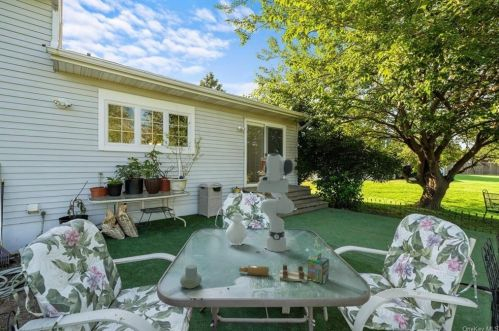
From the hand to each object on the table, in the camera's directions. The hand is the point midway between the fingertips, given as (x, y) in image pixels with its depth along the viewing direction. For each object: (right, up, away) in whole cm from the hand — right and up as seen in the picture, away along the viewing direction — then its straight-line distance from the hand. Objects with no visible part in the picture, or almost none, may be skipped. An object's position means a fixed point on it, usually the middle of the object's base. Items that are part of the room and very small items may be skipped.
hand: (272, 199), depth 161 cm
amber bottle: (-12, -42, -15) cm, 46 cm away
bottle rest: (+10, -42, -18) cm, 47 cm away
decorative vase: (-26, -43, +44) cm, 67 cm away
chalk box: (+24, -43, -20) cm, 53 cm away
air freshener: (-45, -41, -31) cm, 69 cm away
